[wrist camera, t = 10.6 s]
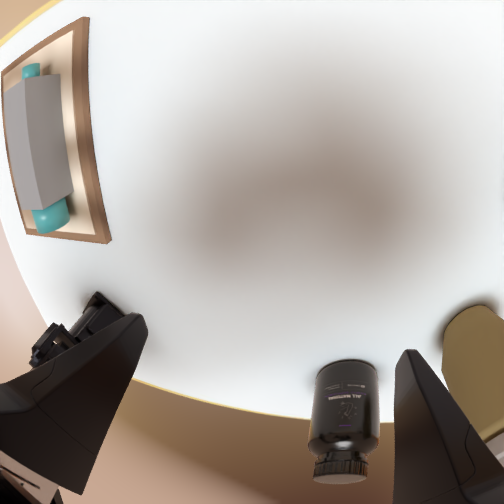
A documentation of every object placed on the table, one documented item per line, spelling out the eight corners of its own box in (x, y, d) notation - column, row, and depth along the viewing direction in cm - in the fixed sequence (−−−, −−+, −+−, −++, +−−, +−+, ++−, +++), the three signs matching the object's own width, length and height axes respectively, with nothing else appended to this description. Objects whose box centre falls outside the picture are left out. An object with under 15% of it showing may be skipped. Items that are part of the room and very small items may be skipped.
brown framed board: (111, 240, 24) (104, 245, 23) (30, 231, 26) (24, 235, 26) (89, 17, 13) (80, 16, 12) (6, 70, 16) (-1, 71, 15)
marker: (80, 215, 22) (51, 236, 19) (55, 215, 23) (28, 233, 19) (60, 57, 14) (24, 60, 11) (35, 71, 15) (3, 76, 12)
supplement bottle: (351, 349, 24) (350, 467, 14) (388, 375, 26) (393, 475, 15) (302, 376, 28) (285, 478, 18) (341, 398, 29) (334, 488, 19)
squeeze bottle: (508, 289, 17) (575, 451, 2) (484, 347, 21) (518, 489, 6) (444, 298, 19) (495, 501, 4) (424, 357, 23) (442, 520, 8)
